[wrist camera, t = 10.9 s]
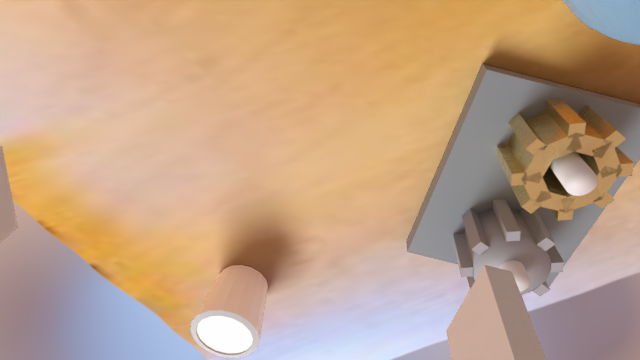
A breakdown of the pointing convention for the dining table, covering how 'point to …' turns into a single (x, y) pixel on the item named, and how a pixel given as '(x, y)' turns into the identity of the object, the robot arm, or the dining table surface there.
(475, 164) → the gear board
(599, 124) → the brass gear
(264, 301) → the beige cup
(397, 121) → the dining table surface
